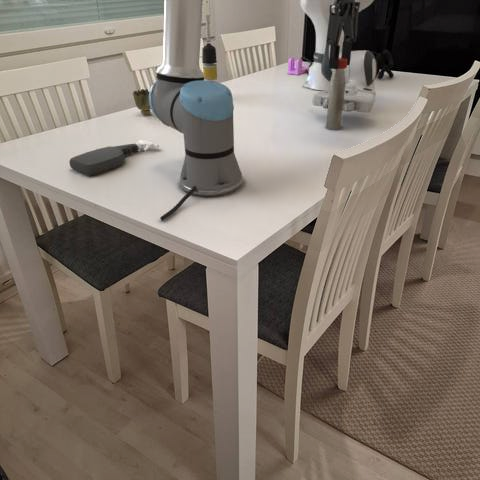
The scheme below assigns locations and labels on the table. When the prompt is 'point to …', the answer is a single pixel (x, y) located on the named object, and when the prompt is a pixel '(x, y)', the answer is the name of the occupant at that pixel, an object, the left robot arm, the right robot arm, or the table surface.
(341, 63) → the cap
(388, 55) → the squiggle
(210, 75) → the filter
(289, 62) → the bracket
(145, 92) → the cup
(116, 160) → the spray bottle
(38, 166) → the table surface
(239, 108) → the table surface
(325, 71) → the right robot arm
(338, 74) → the bottle
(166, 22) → the left robot arm
